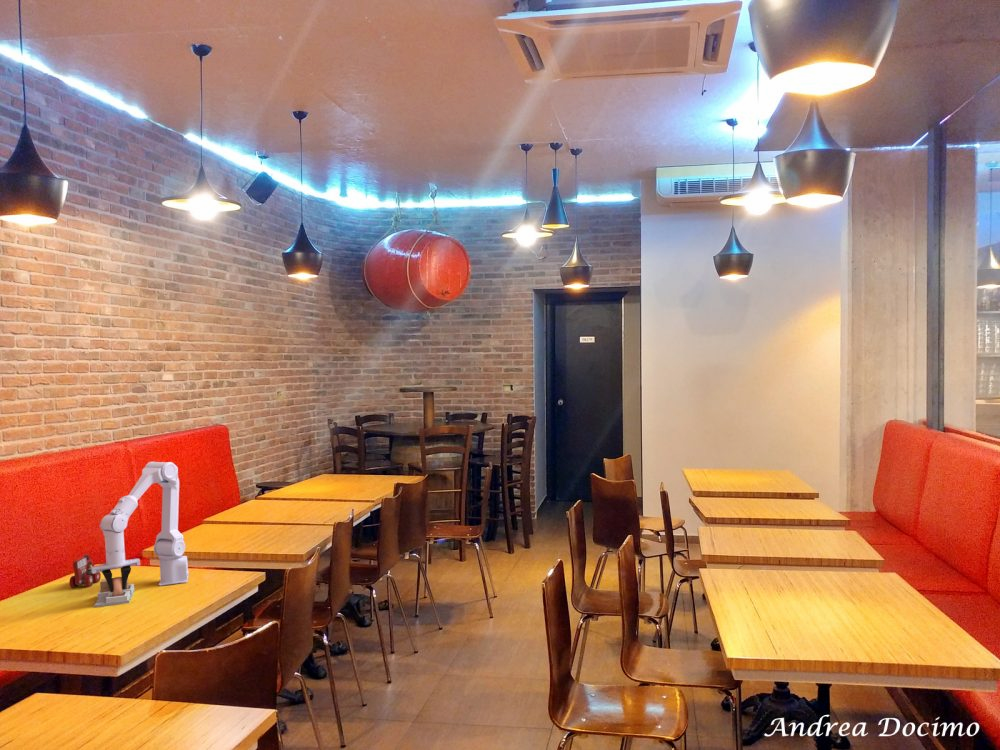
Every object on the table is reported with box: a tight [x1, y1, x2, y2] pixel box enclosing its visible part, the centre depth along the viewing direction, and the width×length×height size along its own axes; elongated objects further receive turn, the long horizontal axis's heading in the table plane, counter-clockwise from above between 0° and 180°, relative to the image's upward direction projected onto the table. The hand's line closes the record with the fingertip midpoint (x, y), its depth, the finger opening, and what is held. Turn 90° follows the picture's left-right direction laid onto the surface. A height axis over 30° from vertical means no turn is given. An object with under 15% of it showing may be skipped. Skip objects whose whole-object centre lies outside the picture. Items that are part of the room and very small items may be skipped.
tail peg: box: [112, 576, 123, 597], centre depth 263 cm, size 3×3×6 cm
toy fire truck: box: [68, 554, 101, 588], centre depth 285 cm, size 7×12×10 cm, turn 0°
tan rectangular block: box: [99, 578, 130, 593], centre depth 269 cm, size 8×3×5 cm, turn 108°
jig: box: [93, 583, 135, 608], centre depth 266 cm, size 10×14×3 cm
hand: (117, 590), depth 263 cm, fingers closed on tail peg, 3 cm apart
